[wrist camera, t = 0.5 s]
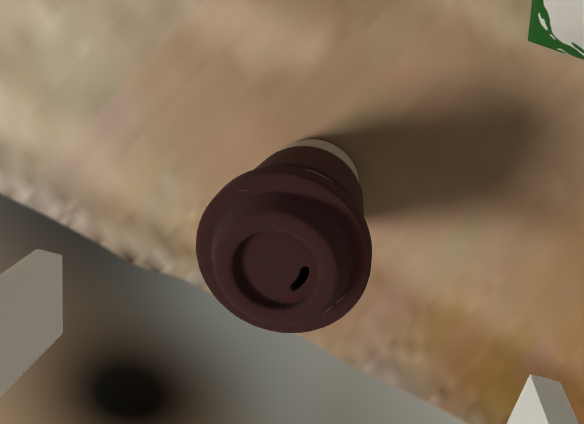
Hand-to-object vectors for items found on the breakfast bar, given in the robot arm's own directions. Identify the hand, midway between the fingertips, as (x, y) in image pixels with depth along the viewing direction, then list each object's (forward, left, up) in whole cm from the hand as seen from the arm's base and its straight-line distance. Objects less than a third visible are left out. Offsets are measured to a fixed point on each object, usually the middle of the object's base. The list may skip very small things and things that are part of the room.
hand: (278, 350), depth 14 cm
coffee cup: (+4, -3, -27) cm, 27 cm away
